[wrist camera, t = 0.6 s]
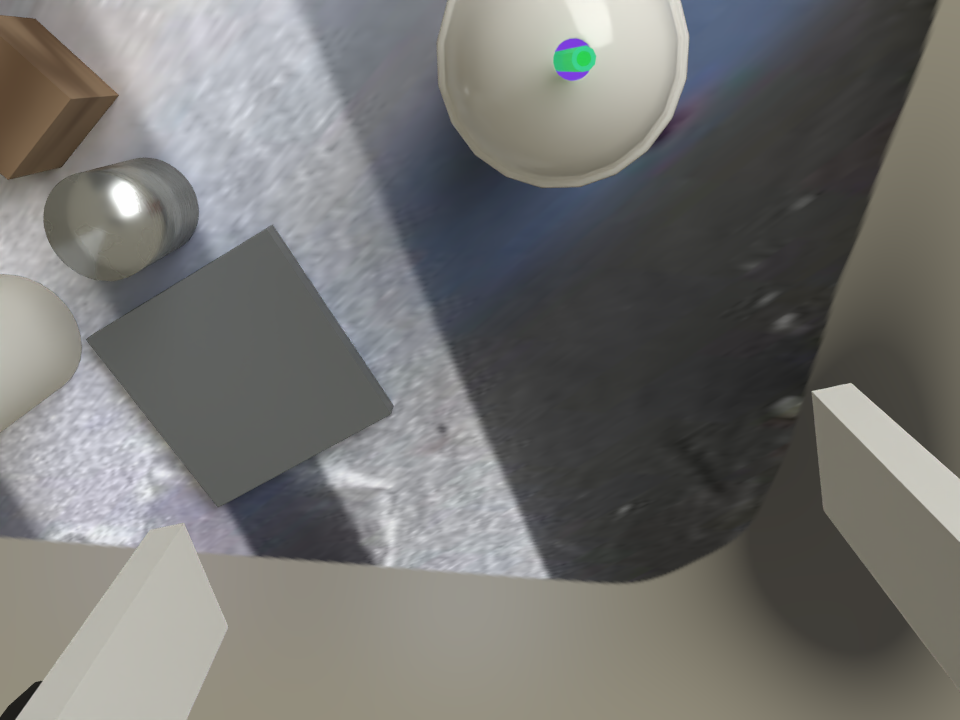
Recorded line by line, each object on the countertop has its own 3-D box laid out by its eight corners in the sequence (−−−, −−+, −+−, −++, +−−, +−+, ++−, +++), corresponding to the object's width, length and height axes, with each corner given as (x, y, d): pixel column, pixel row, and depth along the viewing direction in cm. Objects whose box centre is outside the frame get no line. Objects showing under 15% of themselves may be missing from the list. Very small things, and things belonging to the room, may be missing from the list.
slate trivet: (95, 332, 44) (85, 339, 43) (272, 224, 42) (266, 229, 41) (224, 497, 48) (218, 507, 47) (393, 405, 46) (391, 414, 45)
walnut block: (-21, 95, 40) (-88, 99, 36) (36, 18, 39) (-26, 12, 34) (62, 166, 41) (8, 179, 37) (119, 95, 40) (70, 98, 36)
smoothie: (591, 169, 41) (678, 255, 22) (434, 123, 40) (389, 172, 22) (646, -2, 38) (799, -68, 20) (479, -54, 38) (471, -174, 19)
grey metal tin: (83, 188, 42) (20, 207, 36) (159, 139, 41) (106, 150, 35) (143, 269, 43) (91, 300, 38) (217, 223, 42) (176, 247, 37)
